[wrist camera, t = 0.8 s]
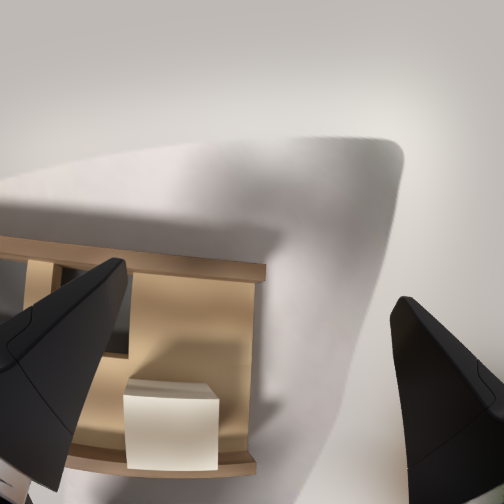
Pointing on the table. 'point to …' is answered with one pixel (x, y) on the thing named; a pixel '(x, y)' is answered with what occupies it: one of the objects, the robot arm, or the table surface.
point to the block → (170, 426)
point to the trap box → (151, 341)
